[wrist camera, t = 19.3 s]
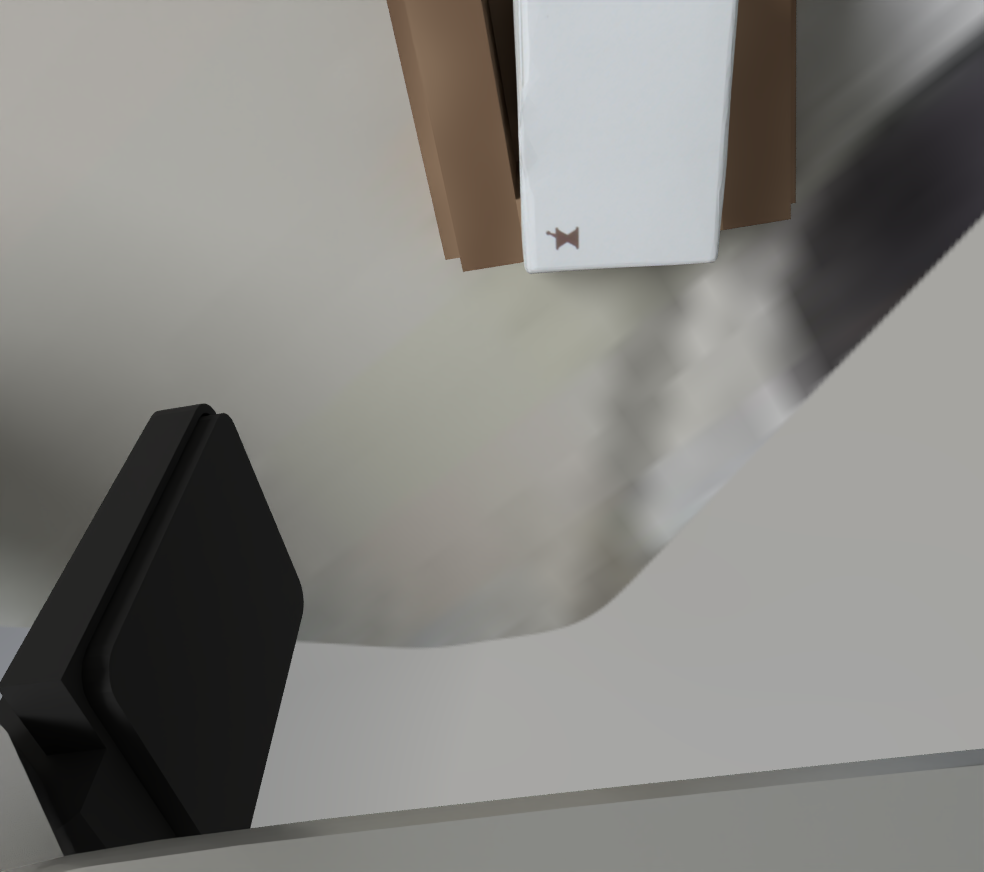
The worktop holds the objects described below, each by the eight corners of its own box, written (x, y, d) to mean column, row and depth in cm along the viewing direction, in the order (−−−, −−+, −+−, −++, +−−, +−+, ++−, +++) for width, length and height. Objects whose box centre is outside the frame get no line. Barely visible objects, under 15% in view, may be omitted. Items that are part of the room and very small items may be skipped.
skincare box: (651, 113, 29) (720, 274, 20) (517, 120, 30) (518, 282, 20) (661, -108, 26) (751, -47, 16) (509, -98, 26) (505, -34, 16)
